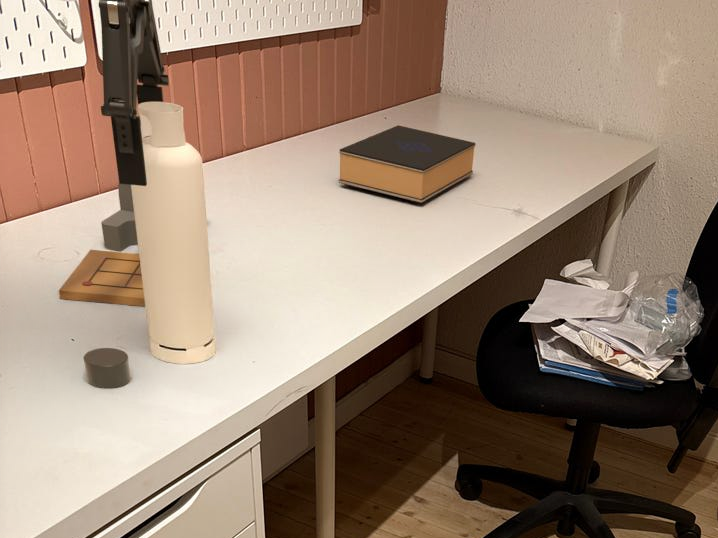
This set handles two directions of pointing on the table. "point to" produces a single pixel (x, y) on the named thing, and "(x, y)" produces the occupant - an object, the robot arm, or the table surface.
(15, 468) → the table surface
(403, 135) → the book
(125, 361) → the cylinder
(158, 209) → the bottle
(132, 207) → the bracket
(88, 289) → the board
